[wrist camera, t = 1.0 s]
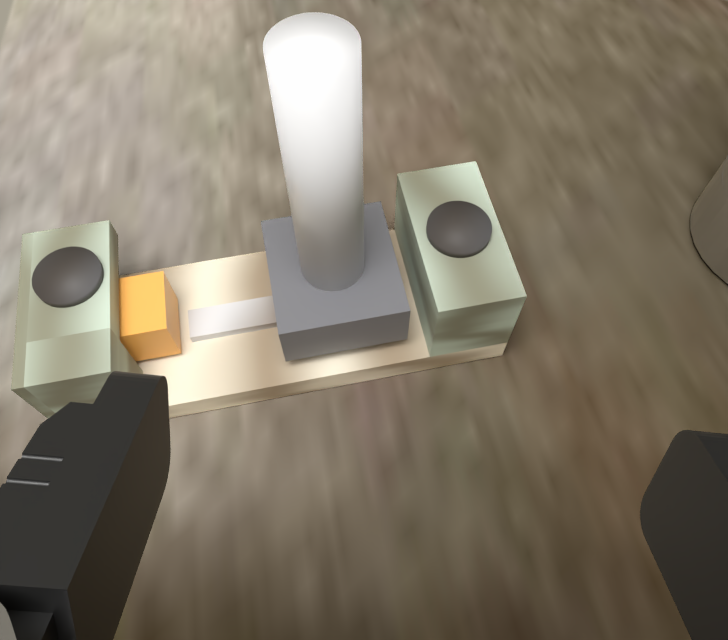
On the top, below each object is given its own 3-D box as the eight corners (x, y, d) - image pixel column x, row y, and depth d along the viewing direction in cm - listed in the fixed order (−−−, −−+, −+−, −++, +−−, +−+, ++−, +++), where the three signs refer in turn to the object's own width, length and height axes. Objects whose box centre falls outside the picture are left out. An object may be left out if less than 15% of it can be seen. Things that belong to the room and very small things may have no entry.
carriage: (380, 235, 34) (385, -32, 21) (407, 339, 31) (433, 102, 18) (269, 253, 34) (205, -8, 21) (285, 361, 31) (223, 134, 18)
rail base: (460, 233, 37) (476, 155, 31) (502, 355, 33) (528, 291, 28) (74, 299, 35) (18, 229, 29) (71, 436, 31) (6, 385, 26)
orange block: (177, 298, 33) (163, 270, 31) (181, 353, 31) (166, 328, 29) (118, 308, 33) (99, 281, 30) (119, 364, 31) (99, 340, 29)
